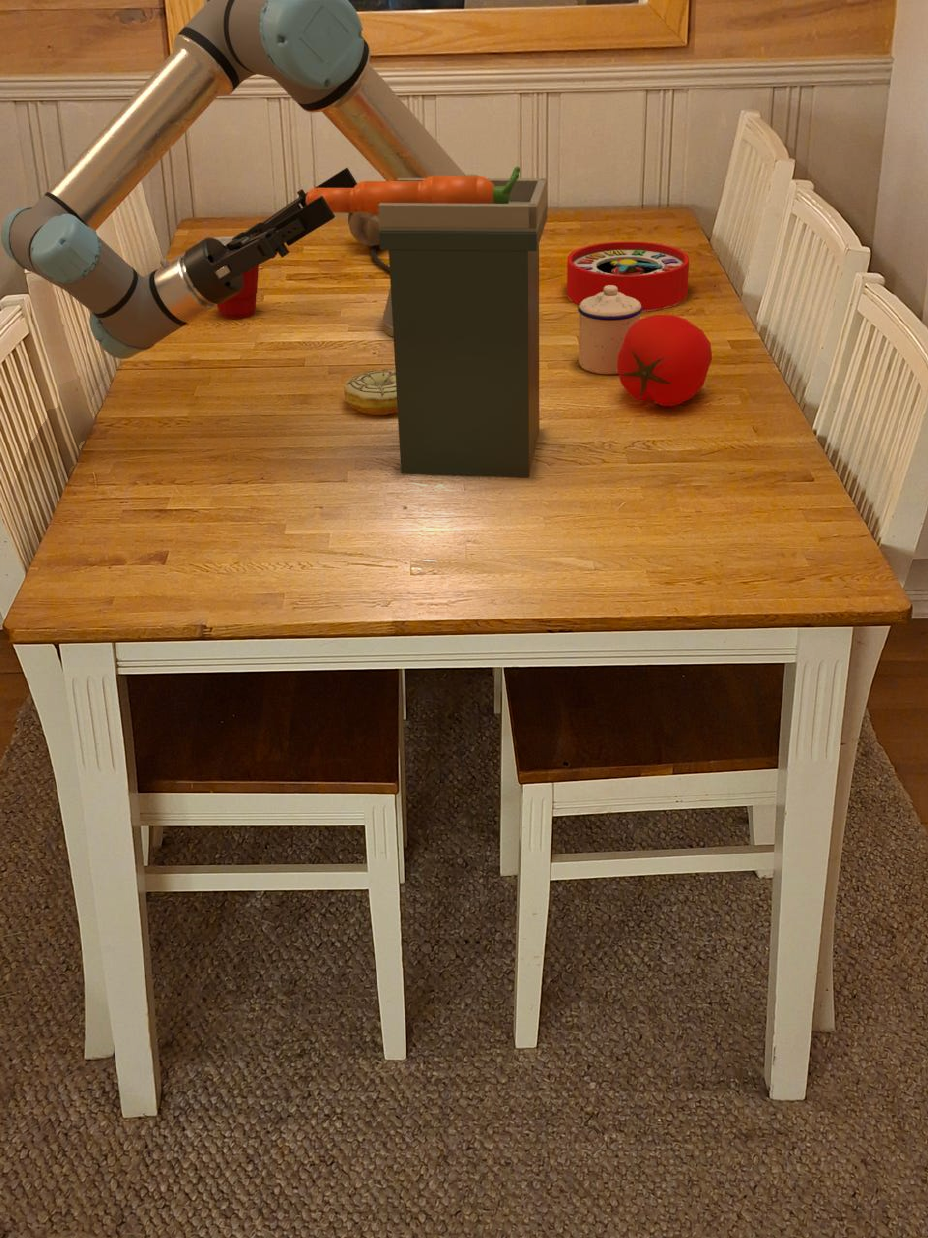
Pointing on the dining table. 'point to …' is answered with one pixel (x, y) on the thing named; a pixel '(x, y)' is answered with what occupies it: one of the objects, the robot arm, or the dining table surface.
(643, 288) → the toy clock
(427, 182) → the carrot
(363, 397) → the decorated donut
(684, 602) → the dining table surface
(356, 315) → the dining table surface
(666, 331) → the tomato
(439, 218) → the stand
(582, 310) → the teacup with lid
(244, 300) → the plastic cup
